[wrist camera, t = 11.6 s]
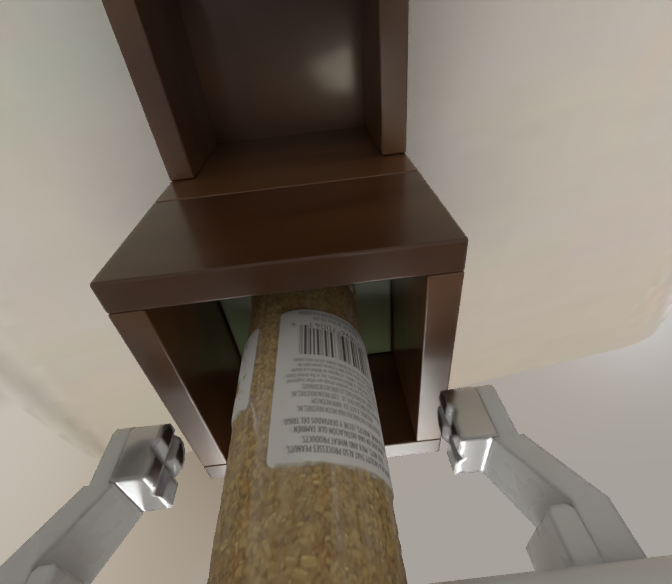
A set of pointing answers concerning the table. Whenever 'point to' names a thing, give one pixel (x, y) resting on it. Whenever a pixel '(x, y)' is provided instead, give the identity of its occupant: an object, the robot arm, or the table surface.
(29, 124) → the table surface
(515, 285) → the table surface
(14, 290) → the table surface
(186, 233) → the caddy
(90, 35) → the table surface
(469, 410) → the robot arm
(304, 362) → the sprinkles bottle
